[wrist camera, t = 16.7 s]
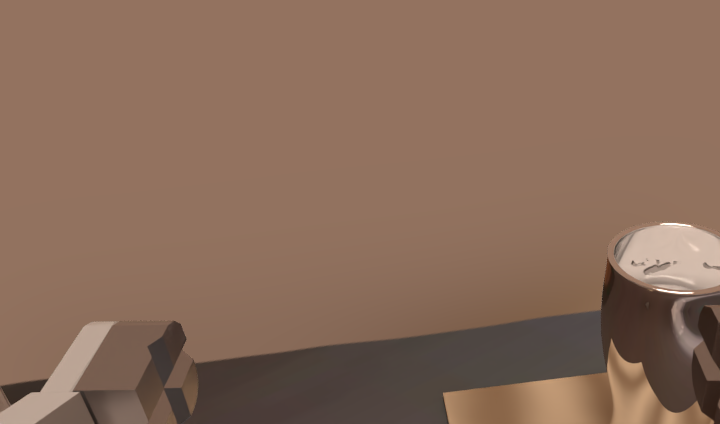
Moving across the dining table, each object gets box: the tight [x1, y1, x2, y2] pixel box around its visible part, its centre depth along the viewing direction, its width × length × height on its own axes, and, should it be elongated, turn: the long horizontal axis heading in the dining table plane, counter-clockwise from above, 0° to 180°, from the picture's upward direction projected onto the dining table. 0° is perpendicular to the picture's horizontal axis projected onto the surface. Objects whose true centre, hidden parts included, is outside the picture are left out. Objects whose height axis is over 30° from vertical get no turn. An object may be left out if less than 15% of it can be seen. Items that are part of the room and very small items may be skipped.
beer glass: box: [601, 221, 720, 424], centre depth 39 cm, size 7×7×15 cm
